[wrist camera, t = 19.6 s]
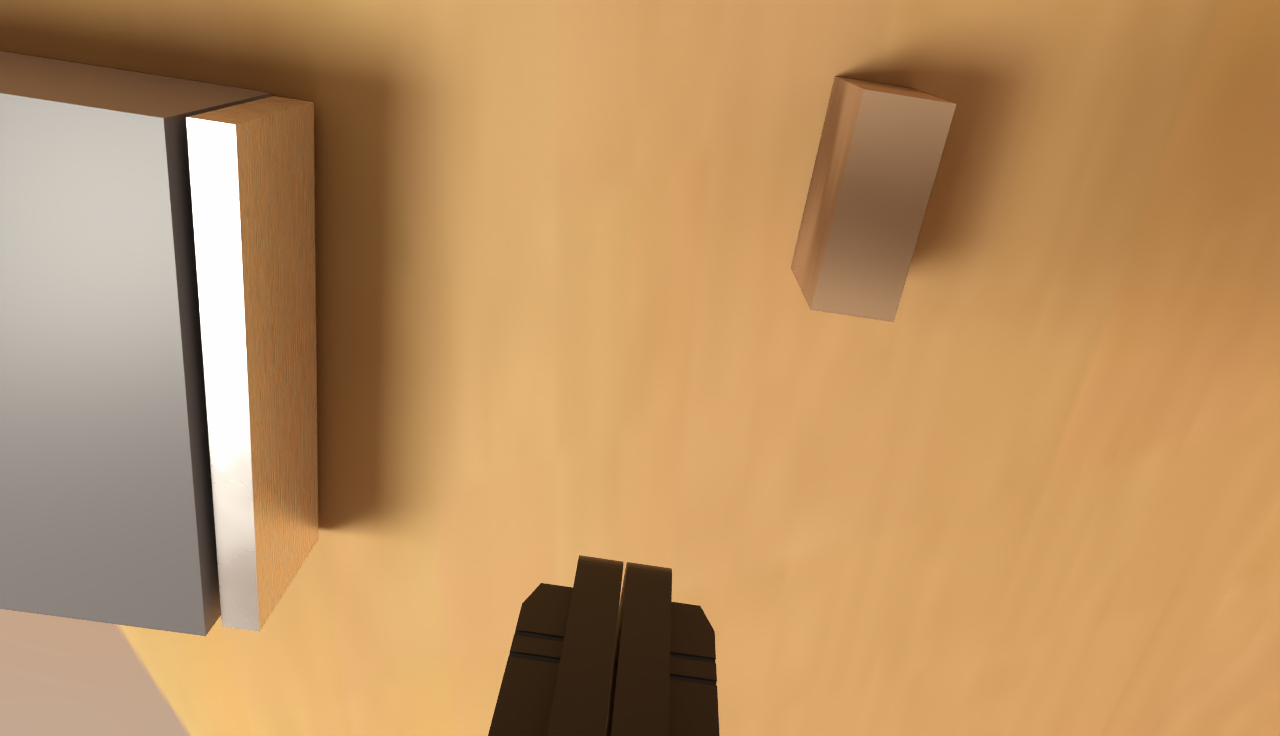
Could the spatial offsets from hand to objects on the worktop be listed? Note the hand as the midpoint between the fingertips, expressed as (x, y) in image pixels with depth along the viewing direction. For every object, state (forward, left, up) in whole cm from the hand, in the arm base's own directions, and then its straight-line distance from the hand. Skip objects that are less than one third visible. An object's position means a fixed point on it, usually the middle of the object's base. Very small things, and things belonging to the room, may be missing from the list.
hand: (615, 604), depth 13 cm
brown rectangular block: (-5, +6, -16) cm, 17 cm away
